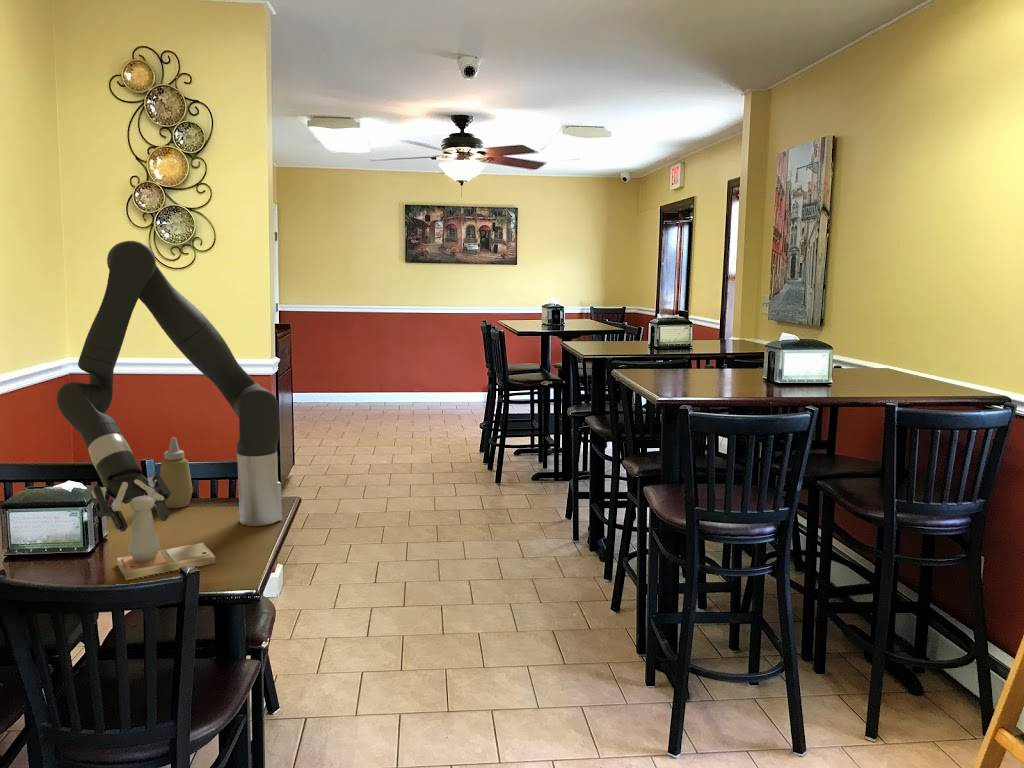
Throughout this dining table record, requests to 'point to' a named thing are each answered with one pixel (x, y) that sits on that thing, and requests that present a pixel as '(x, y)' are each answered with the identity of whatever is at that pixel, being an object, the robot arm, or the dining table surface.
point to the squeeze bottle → (176, 476)
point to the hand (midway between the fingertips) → (145, 524)
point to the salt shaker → (143, 530)
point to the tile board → (167, 560)
